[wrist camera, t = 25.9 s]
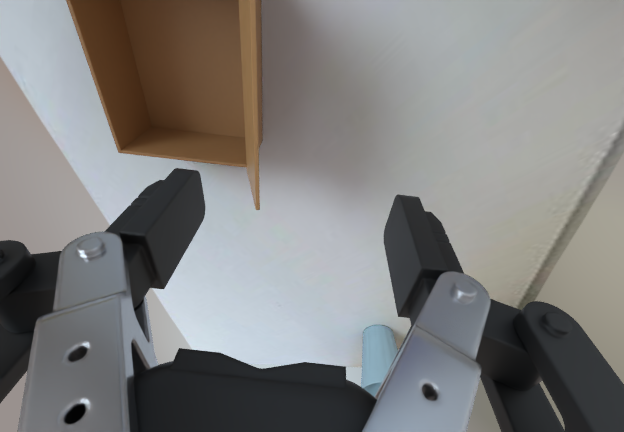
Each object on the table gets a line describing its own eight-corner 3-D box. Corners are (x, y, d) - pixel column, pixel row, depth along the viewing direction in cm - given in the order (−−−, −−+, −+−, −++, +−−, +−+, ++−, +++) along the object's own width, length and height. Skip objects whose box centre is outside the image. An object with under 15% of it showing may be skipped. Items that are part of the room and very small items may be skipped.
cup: (350, 327, 55) (353, 386, 47) (389, 317, 52) (400, 378, 44) (366, 346, 59) (371, 404, 51) (403, 338, 56) (415, 398, 48)
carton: (103, -62, 23) (39, -76, 18) (260, -43, 23) (240, -51, 18) (151, 127, 33) (118, 152, 28) (262, 140, 33) (249, 167, 28)
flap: (247, -59, 13) (254, -58, 13) (236, -52, 18) (241, -51, 18) (255, 210, 23) (259, 209, 23) (246, 170, 27) (250, 170, 27)
